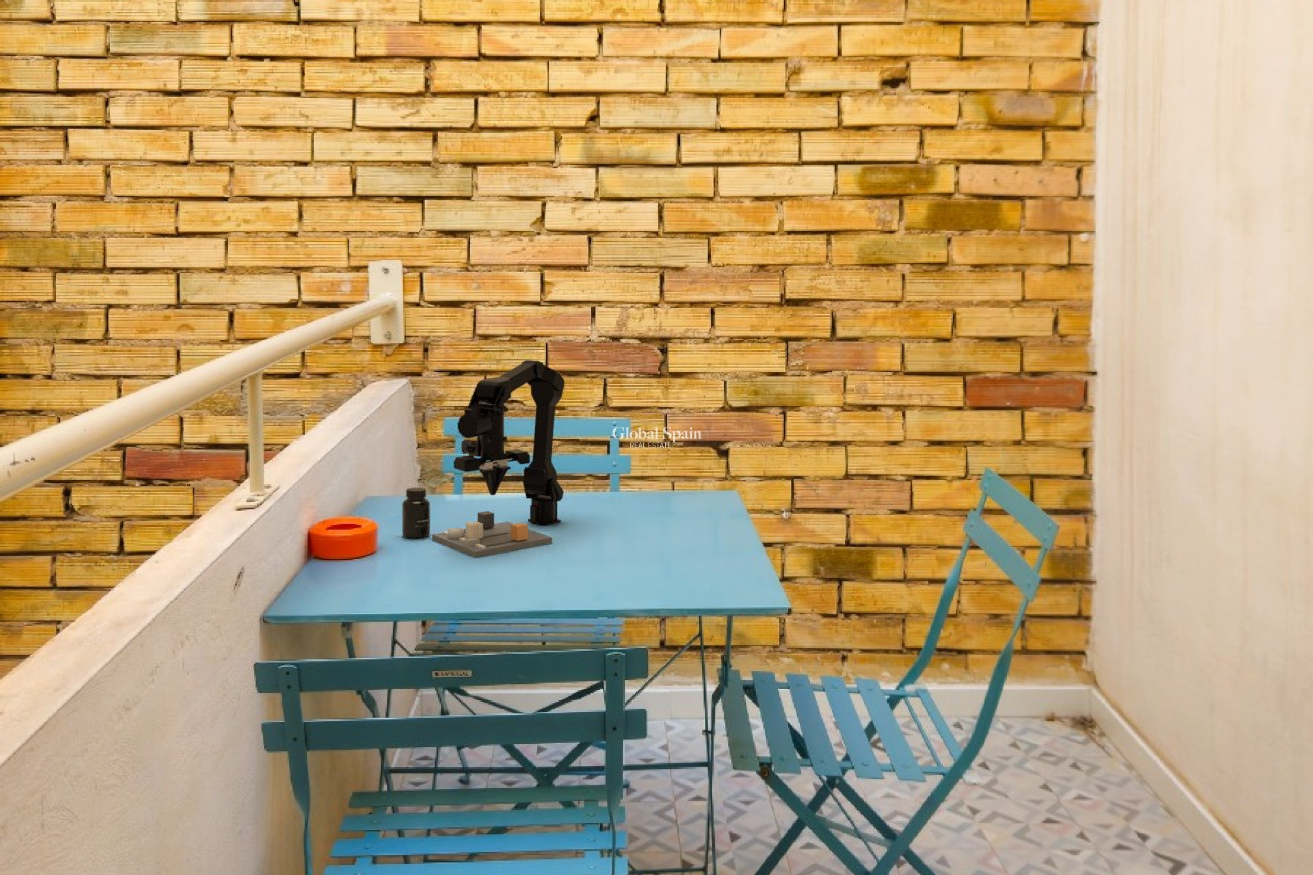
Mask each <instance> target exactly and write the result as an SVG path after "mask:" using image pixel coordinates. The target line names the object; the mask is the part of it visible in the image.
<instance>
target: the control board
mask: <svg viewBox="0 0 1313 875" xmlns="http://www.w3.org/2000/svg"><path fill="white" fill-rule="evenodd" d="M511 524H514V523H512V522H510V521H503V522H496V523H494V527H490V528H485V529H484V528H483V538H479V539H478V538H467V537H466V528H462V527H451V528H448V529H447V530H446V531H443V532H438V533H433V534H432V535H431V541H433V542H435V543H438V544H441V545H443V546H445V547H448V548H451V549H453V550H454V551H457V552H460V553H463V554H465V555H468V556H471V558H472V557H473V558H475V559H476V558H481V557H488V556H492V555H493V556H494V555H497V554H503V553H507V552H513V551H518V550H524V549H530V548H534V547H538V546H544V545H550V543H551V544H553V537H552V536H550V535H547V534H544V533H541V532H539V531H538V532H537V531H536V530H532V529H530V528H528V539H525V540H520V541H517V540H514V539H511Z"/></svg>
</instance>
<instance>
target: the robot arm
mask: <svg viewBox="0 0 1313 875" xmlns="http://www.w3.org/2000/svg"><path fill="white" fill-rule="evenodd" d="M525 384H527V385H528V386H530V396H531V398H532V399H533V401H534V403H535V404H534V405H535V416H534V417H535V419H534V434H533V447H532V459H531V455H530V453H529V452H528V451H525V450H522V449H509V450H505V442H507V441H508V436H506V435H505V415H504V414H505V413H507V412H509V407H507V406H506V405H505V404H506V403H507V402H508V401H509V400H510V399H511V397H512V393H513V392H514V391H515V390H517V389H520V388H521V387H522V386H524V385H525ZM564 388H565V379H564V377H563V376H562V374H561V373H560V372H558V371H556V370H554V369H552V368H551V367H548V366H546V365H545V364H544V363H543V362H541V361H540V360H530V359H526V360H523V361H521V364H519V365H517V366H516V367H514V368H512V369H510V370H508V371H507V372H505V373H504V374H502V375H500V376H497V377H488V378H485V379H481V380H479V381H478V382H477V384H476V385H475V388H474V391H473V393H472V396H471V399H470V400H469V403H468V406H467V408H465V409H464V413H463V415H461V416H460V417H459V418H458V422H457V424H456V425H457V430H458V432H459V434H460V435H461V437H463V438H466V439H465V440H462V441H461V447H460V448H461V452H462V454H463V455H461V456H456V457H455V459H454V461H453V469H454V470H455V469H456V470H459V471H461V472H465V473H468V472H477V471H479V472H480V474H481V475H482V477H483V479H484V481H485V484H486V486H487V489H488V492H489V495H490V496H496V493H497V492H498V490H499V488H500V485H501V483H502V481H503V479H504V477H505V476H506V474H507V472H508V471H509V470H511V469H512V467H511V466H508V464H509V462H517V463H518V464H519V465H527V464H529V465H528V466H525V467H524V469H523V479H522V484H523V489H524V494H525V499H528V500H529V499H530V505H529V518H527V521H528V522H530V523H534V524H537V525H540V526H545V525H551V524H555V523H561V522H562V520H561V519H559V518H558V502H561V501H562V500H563V497H564V493H565V492H564V490H563V488H562V487H561V485H560V483H559V482H558V480H557V479H558V478H557V477H558V474H557V470H556V468H555V466H554V464H553V462H552V458H553V456H552V455H553V445H554V429H555V415H556V406H557V405H558V403H559V402H560V401H561V399H562V397H563V395H564V394H563V393H564ZM475 437H476V441H474V442H473V441H472V440H471V438H472V439H473V438H475ZM466 454H467V455H466Z"/></svg>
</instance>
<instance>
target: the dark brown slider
mask: <svg viewBox="0 0 1313 875" xmlns="http://www.w3.org/2000/svg"><path fill="white" fill-rule="evenodd" d="M477 522H479V523H482V524H483V528H484V529H485V528H490V527H494V524H495V513H494V512H491V511H489V510H487V511H486V510H485V511H480V512H477Z"/></svg>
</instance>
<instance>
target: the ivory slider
mask: <svg viewBox="0 0 1313 875" xmlns="http://www.w3.org/2000/svg"><path fill="white" fill-rule="evenodd" d="M465 529H466V537H467V538H478V539H479V538H483V524H482V523H479V522H478V520H476V521H471V522H466V523H465Z"/></svg>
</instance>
